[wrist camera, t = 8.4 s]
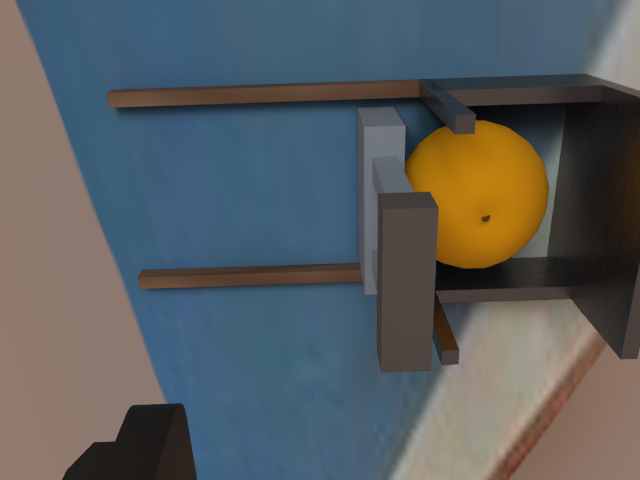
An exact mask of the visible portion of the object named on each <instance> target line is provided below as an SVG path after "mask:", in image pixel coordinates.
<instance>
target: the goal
mask: <svg viewBox="0 0 640 480" xmlns="http://www.w3.org/2000/svg"><path fill="white" fill-rule="evenodd" d="M418 81H419V98H420V99H421V100H422V101H423V102H424V103H425V104H426V105H427V106H428V107H429V108H430V109H431V110H432V111H433V112H434V113H435V114H436V115H437V116H438V117H439V118H440V120H441V121H442V122H443V123H444V124H445V125H446V126H447V127H448V128H449V129H450V130H451V131H452V132H453V133H454V134H455V135H457V134H475V122H476V114H475V113H474V112H473V111H471V110H470V109H469V108H467V107H466V106H482V105H512V104H542V103H567V109H566V117H565V125H564V132H563V140H562V148H561V155H560V163H559V171H558V178H557V186H556V194H555V201H554V209H553V216H552V224H551V232H550V239H549V247H548V255H547V257H534V258H509V259H507V260H506V261H503V262H500V263H498V264H495V265H492V266H489V267H487V268H460V267H456V266H452V265H449V264H445V263H441V262H439V261H436V275H435V295H434V315H433V335H432V338H433V341H434V344H435V347H436V350H437V353H438V356H439V359H440V362H441V365H453V364H458V360H459V348H458V346H457V343H456V341H455V338H454V336H453V333H452V331H451V328H450V326H449V323H448V321H447V318H446V316H445V313H444V311H443V308H442V306H441V303H458V302H489V301H520V300H551V299H571V300H572V301H573V302H574V303H575V305H576V306H577V307H578V308H579V309H580V311H581V312H582V313H583V314H584V315H585V317H586V318H587V319H588V320H589V322H590V323H591V324H592V325H593V326H594V328H595V329H596V330H597V331H598V332H599V334H600V335H601V336H602V337H603V338H604V340H605V341H606V342H607V343H608V345H609V346H610V347H611V348H612V349H613V351H614V352H615V353H616V354H617V355H618V357H619V358H620V359H637V358H638V352H639V348H640V91H638V90H635V89H632V88H629V87H626V86H622V85H619V84H616V83H613V82H610V81H607V80H603V79H600V78H597V77H594V76H591V75H588V74H566V75H537V76H507V77H478V78H448V79H419V80H418Z"/></svg>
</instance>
